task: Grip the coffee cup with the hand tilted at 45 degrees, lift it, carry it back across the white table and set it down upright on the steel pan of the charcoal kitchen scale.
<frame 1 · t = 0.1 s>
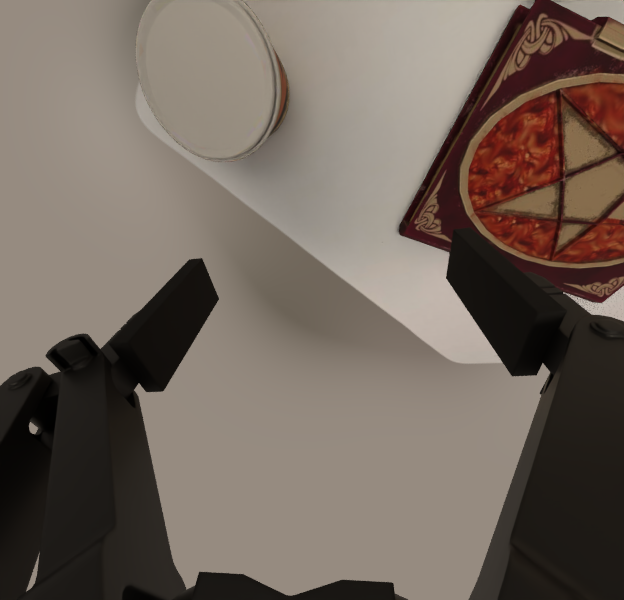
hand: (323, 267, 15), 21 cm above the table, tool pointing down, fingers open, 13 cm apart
coffee cup: (252, 92, 27), on the table
book: (559, 182, 30), on the table
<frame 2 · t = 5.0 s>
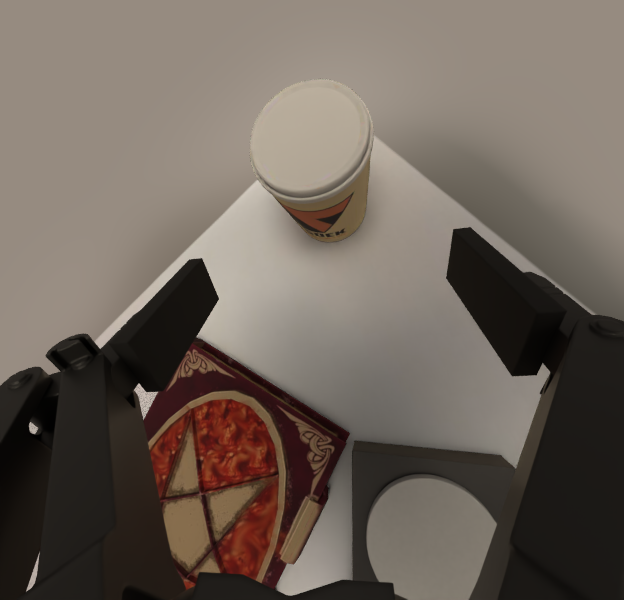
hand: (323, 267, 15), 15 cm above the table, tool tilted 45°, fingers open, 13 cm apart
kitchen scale: (426, 523, 25), on the table
coffee cup: (331, 210, 31), on the table
book: (211, 497, 30), on the table
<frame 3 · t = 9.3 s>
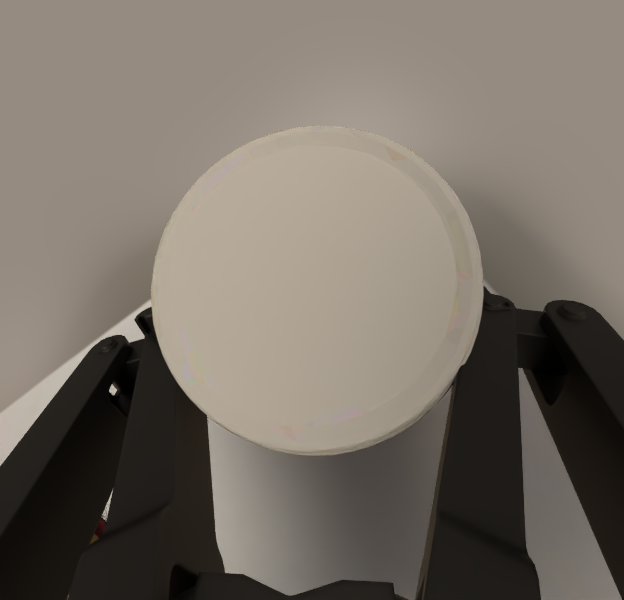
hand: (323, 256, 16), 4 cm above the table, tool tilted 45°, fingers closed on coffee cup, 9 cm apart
coffee cup: (334, 319, 19), on the table, touching gripper
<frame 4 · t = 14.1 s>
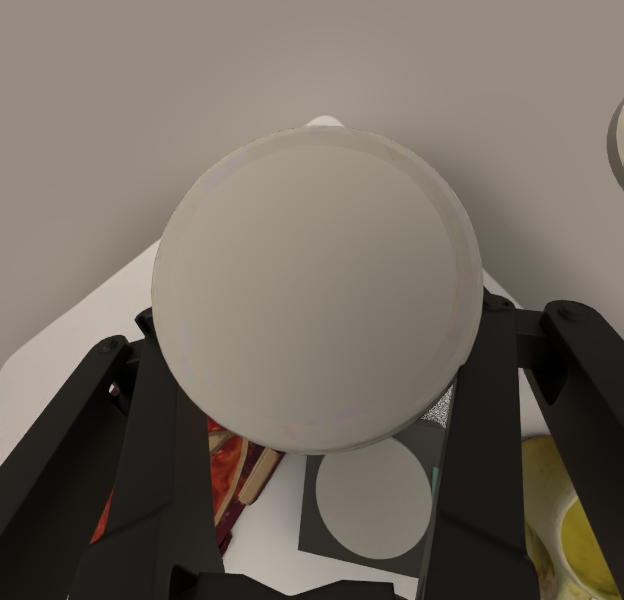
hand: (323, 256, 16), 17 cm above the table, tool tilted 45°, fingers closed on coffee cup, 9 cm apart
mug: (539, 495, 26), on the table
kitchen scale: (370, 477, 28), on the table
coffee cup: (334, 319, 19), point 13 cm above the table, touching gripper
book: (179, 451, 32), on the table
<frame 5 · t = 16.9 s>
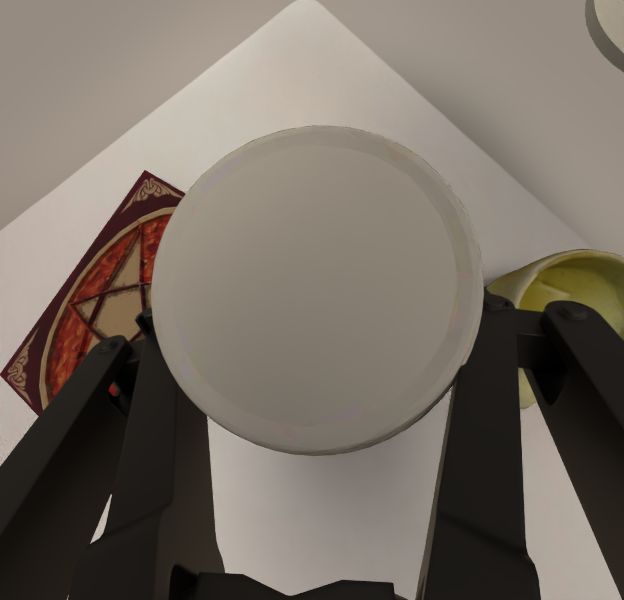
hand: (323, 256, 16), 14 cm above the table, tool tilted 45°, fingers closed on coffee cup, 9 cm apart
mug: (508, 335, 26), on the table
coffee cup: (334, 319, 19), point 10 cm above the table, touching gripper
book: (153, 317, 32), on the table
when the fingers open (7 cm above the table, at t = 19.2 s): coffee cup stays where it is, resting on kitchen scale.
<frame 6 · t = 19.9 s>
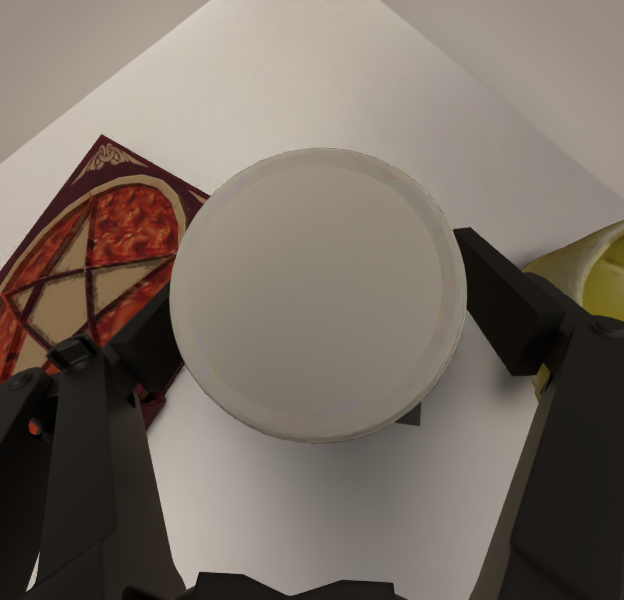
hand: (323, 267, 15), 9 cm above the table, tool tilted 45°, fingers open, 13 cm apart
mug: (547, 332, 21), on the table
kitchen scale: (335, 324, 23), on the table
coffee cup: (334, 320, 20), point 3 cm above the table, touching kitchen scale
book: (110, 311, 26), on the table
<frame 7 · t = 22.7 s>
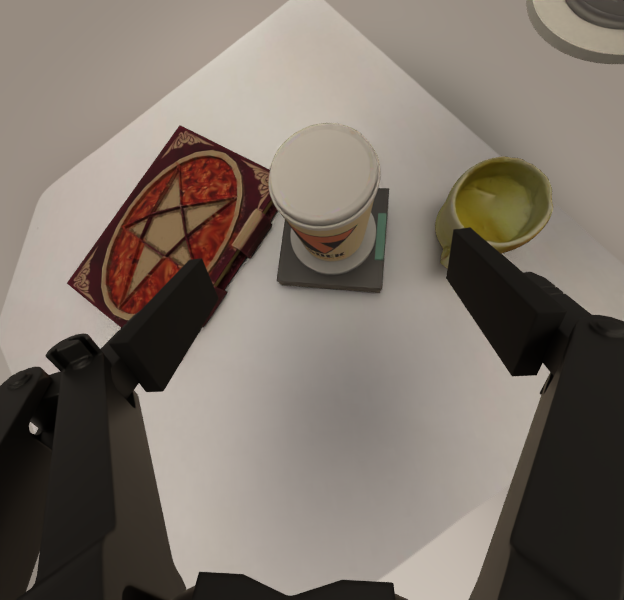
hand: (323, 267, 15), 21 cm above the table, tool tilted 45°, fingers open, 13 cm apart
mug: (460, 241, 34), on the table
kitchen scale: (334, 242, 37), on the table
coffee cup: (332, 232, 34), point 3 cm above the table, touching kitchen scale
book: (186, 241, 40), on the table
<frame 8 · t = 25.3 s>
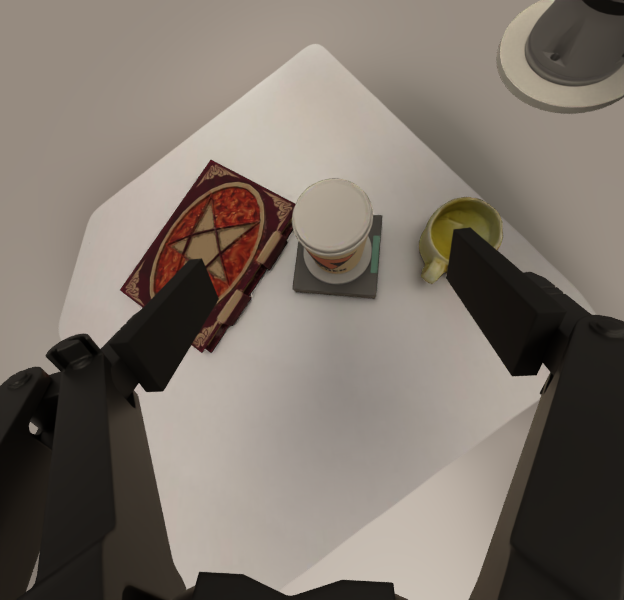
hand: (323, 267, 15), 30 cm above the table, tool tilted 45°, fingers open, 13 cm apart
mug: (439, 257, 43), on the table
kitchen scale: (338, 257, 45), on the table
coffee cup: (337, 251, 42), point 3 cm above the table, touching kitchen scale
book: (216, 255, 49), on the table
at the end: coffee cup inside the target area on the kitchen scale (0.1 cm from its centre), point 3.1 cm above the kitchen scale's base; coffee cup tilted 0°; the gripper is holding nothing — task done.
